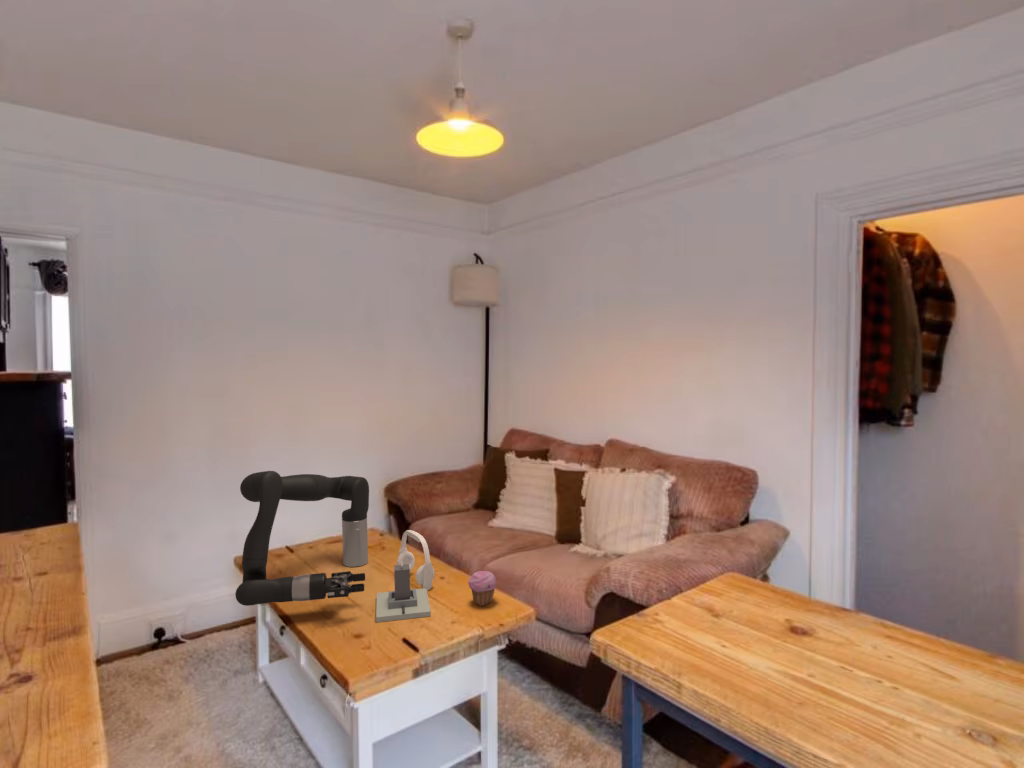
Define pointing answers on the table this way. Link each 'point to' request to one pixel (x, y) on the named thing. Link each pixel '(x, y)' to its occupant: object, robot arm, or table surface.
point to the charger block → (402, 581)
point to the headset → (424, 571)
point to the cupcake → (482, 587)
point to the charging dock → (402, 606)
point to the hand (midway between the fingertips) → (364, 581)
